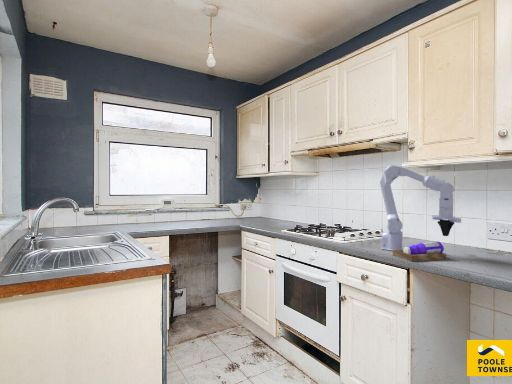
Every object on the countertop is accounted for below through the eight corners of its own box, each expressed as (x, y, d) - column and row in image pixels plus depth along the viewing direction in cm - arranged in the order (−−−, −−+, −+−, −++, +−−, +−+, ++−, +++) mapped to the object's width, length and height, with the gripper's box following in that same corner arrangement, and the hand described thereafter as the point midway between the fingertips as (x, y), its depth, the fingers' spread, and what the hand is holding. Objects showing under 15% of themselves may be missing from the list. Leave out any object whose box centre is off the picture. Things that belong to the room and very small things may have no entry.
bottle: (439, 238, 141) (405, 242, 139) (446, 248, 137) (411, 252, 135) (433, 247, 147) (399, 251, 144) (439, 257, 143) (405, 261, 140)
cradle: (425, 253, 150) (425, 248, 150) (446, 259, 138) (446, 253, 138) (392, 255, 145) (392, 250, 145) (411, 261, 133) (411, 255, 133)
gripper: (466, 208, 139) (466, 238, 139) (440, 206, 153) (439, 233, 153) (454, 209, 137) (453, 238, 138) (428, 206, 151) (428, 233, 152)
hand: (445, 235), depth 145 cm, fingers closed
